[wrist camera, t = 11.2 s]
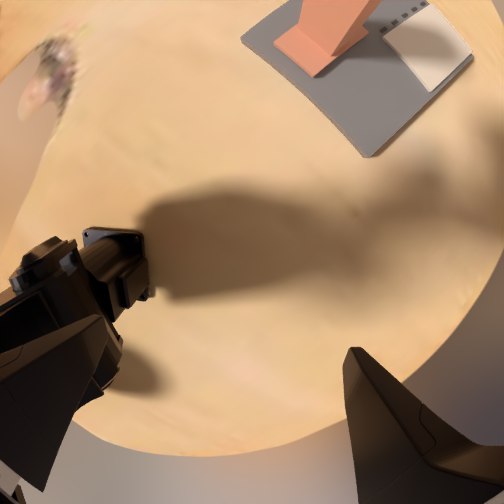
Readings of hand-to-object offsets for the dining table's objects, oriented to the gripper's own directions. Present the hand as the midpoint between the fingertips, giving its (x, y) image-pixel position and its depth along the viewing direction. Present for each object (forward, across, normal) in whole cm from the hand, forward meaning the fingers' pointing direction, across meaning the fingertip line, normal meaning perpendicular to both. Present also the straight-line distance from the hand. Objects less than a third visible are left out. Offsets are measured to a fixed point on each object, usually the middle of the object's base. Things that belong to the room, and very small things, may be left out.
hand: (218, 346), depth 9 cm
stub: (+12, -4, -15) cm, 20 cm away
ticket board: (+13, -8, -17) cm, 23 cm away
